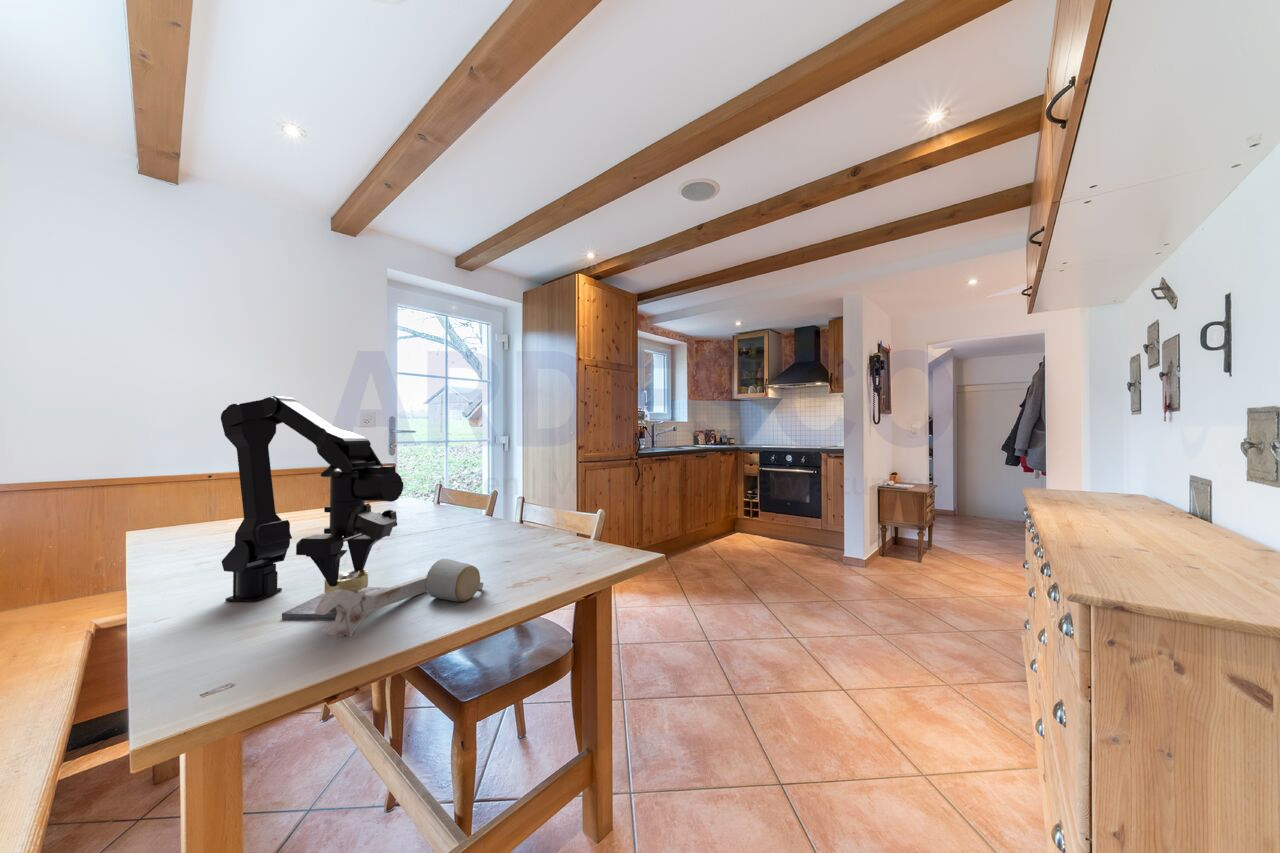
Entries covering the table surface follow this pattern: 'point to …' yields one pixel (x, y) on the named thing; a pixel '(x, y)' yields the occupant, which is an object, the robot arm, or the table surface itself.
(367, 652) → the table surface
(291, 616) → the piston stand
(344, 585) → the ring
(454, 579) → the ceramic mug
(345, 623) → the wrench
